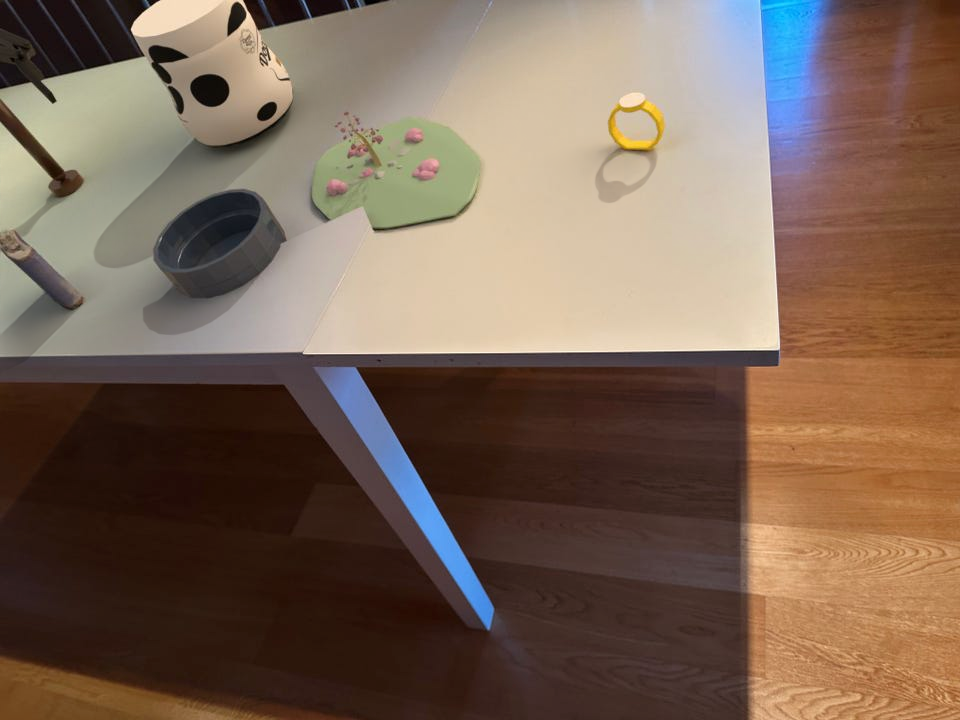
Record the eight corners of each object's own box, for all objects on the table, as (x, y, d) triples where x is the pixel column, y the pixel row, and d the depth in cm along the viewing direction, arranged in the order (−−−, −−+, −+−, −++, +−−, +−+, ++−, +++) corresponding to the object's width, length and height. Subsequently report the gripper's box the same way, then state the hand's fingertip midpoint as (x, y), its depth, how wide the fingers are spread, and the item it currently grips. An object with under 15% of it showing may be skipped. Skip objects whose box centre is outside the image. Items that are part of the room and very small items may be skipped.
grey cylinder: (88, 299, 85) (22, 237, 77) (68, 315, 84) (0, 254, 76) (62, 276, 91) (-2, 215, 83) (44, 290, 90) (-23, 230, 82)
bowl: (186, 326, 77) (154, 291, 72) (181, 257, 86) (152, 221, 81) (298, 275, 77) (272, 236, 72) (280, 211, 86) (257, 173, 82)
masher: (53, 201, 105) (-54, 87, 90) (56, 185, 109) (-48, 73, 94) (83, 188, 105) (-20, 72, 91) (84, 173, 109) (-15, 58, 94)
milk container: (322, 92, 104) (264, -29, 90) (256, 162, 96) (181, 41, 82) (245, 89, 112) (181, -22, 98) (178, 154, 104) (98, 42, 90)
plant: (525, 134, 82) (508, 66, 75) (436, 248, 73) (408, 181, 67) (374, 118, 95) (348, 57, 88) (282, 213, 86) (245, 154, 79)
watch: (668, 141, 74) (665, 92, 70) (660, 157, 73) (656, 108, 68) (617, 137, 77) (611, 90, 72) (608, 152, 76) (602, 105, 71)
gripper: (-14, -16, 103) (90, 90, 106) (-170, 72, 95) (-54, 183, 98) (-34, -50, 96) (78, 64, 99) (-204, 41, 88) (-78, 162, 91)
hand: (12, 124), depth 98 cm, fingers open, 13 cm apart
